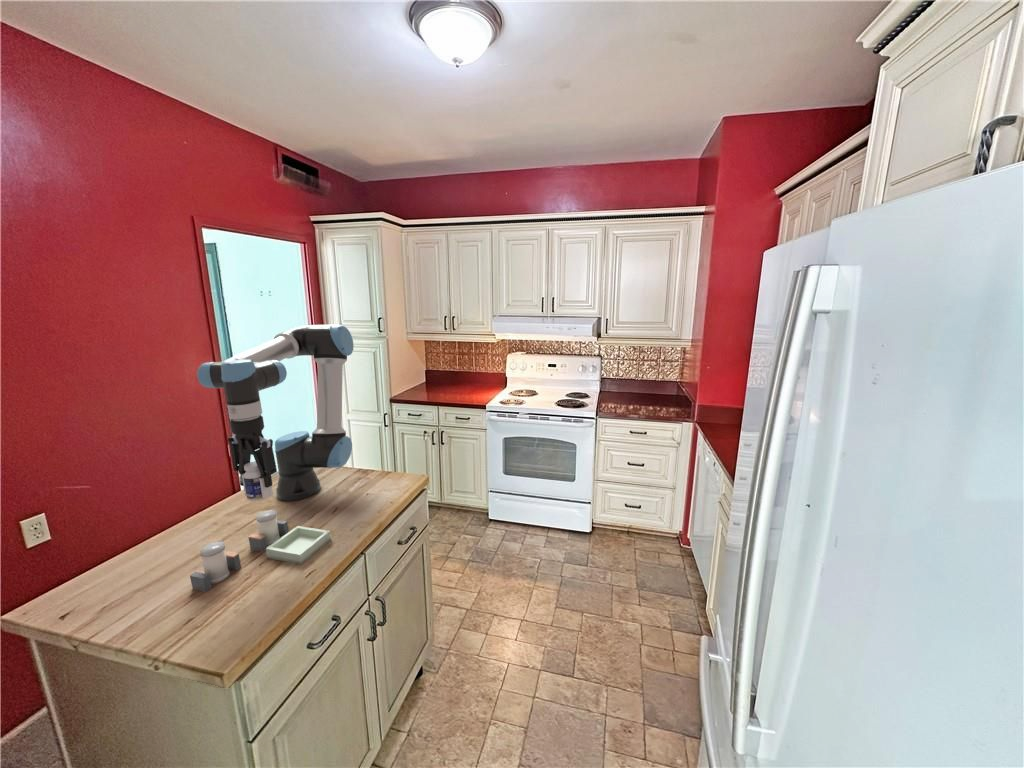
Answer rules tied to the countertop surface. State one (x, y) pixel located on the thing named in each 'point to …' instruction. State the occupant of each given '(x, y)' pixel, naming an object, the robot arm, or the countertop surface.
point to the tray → (298, 544)
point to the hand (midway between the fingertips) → (259, 495)
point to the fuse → (268, 526)
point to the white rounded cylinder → (215, 561)
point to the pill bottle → (252, 481)
